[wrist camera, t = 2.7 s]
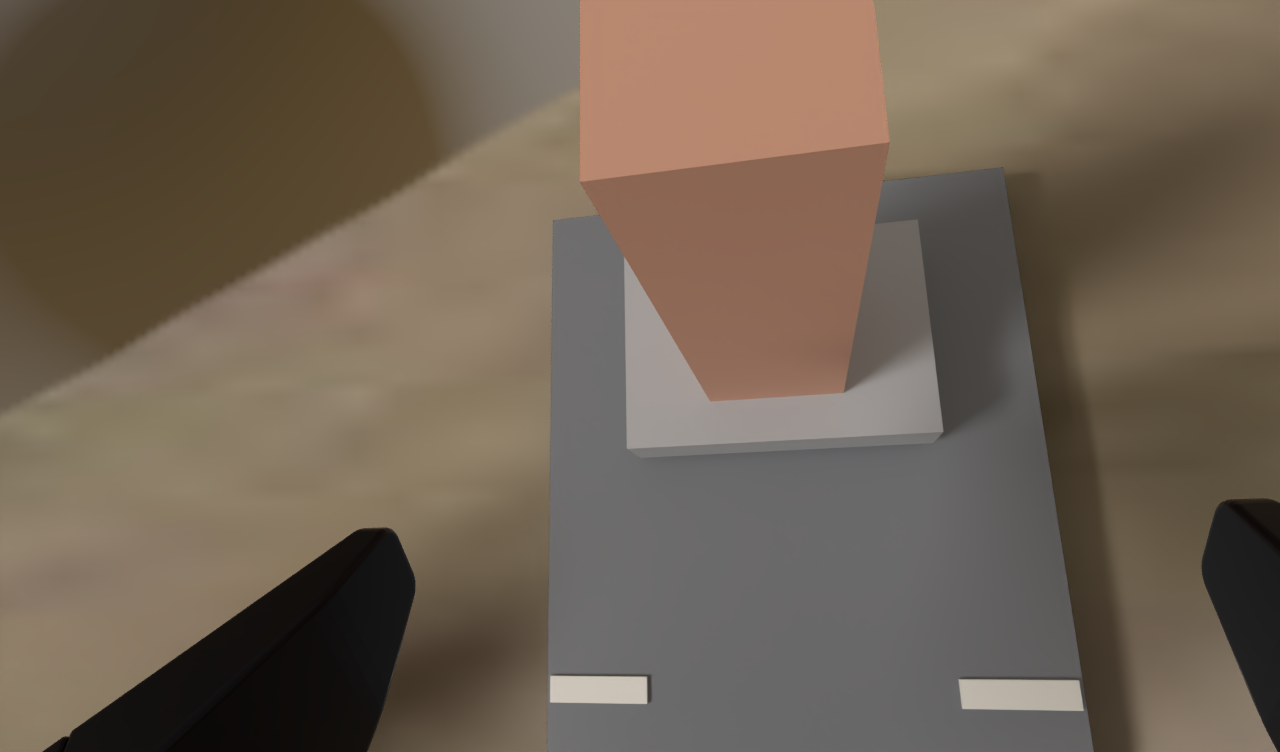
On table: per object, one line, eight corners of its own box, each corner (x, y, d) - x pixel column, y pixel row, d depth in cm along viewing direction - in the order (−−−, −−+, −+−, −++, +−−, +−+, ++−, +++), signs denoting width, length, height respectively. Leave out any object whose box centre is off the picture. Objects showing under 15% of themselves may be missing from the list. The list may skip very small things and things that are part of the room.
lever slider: (932, 443, 18) (1148, 215, 6) (640, 458, 19) (393, 293, 8) (909, 245, 19) (1055, -237, 8) (636, 273, 20) (420, -100, 9)
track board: (1081, 783, 17) (1102, 800, 16) (562, 766, 19) (544, 779, 18) (992, 189, 20) (1004, 165, 19) (565, 237, 23) (551, 218, 22)
